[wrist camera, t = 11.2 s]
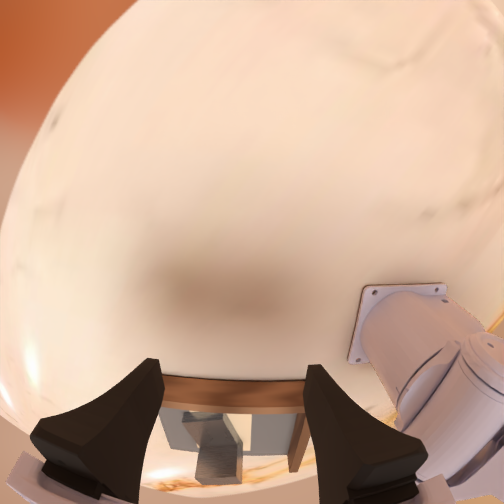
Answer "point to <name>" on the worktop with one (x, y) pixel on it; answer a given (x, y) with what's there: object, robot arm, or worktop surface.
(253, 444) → the corner mat
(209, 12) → the worktop surface
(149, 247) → the worktop surface
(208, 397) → the corner walls
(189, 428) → the angle bracket
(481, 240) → the worktop surface
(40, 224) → the worktop surface
